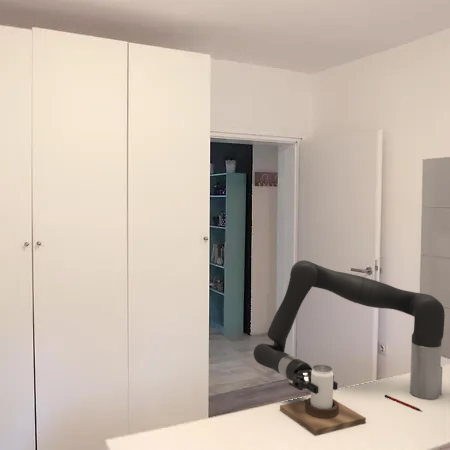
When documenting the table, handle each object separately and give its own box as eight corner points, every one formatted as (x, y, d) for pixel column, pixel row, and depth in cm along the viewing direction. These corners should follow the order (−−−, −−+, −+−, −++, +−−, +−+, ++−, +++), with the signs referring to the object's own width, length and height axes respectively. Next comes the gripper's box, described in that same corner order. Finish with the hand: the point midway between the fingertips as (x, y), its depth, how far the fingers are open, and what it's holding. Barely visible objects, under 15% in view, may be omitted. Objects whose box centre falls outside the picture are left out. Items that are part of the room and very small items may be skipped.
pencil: (421, 413, 152) (422, 410, 152) (384, 397, 164) (384, 394, 164) (423, 412, 153) (423, 409, 153) (386, 397, 164) (386, 394, 164)
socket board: (326, 399, 161) (327, 387, 160) (365, 422, 144) (365, 409, 144) (279, 410, 153) (280, 397, 152) (315, 435, 136) (315, 421, 136)
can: (331, 403, 151) (332, 364, 151) (333, 412, 145) (334, 372, 144) (309, 401, 152) (310, 363, 151) (311, 411, 146) (312, 371, 145)
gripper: (276, 361, 157) (307, 379, 142) (313, 355, 164) (346, 372, 149) (275, 384, 158) (306, 405, 143) (312, 377, 164) (345, 396, 149)
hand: (326, 388), depth 146 cm, fingers closed on can, 6 cm apart
